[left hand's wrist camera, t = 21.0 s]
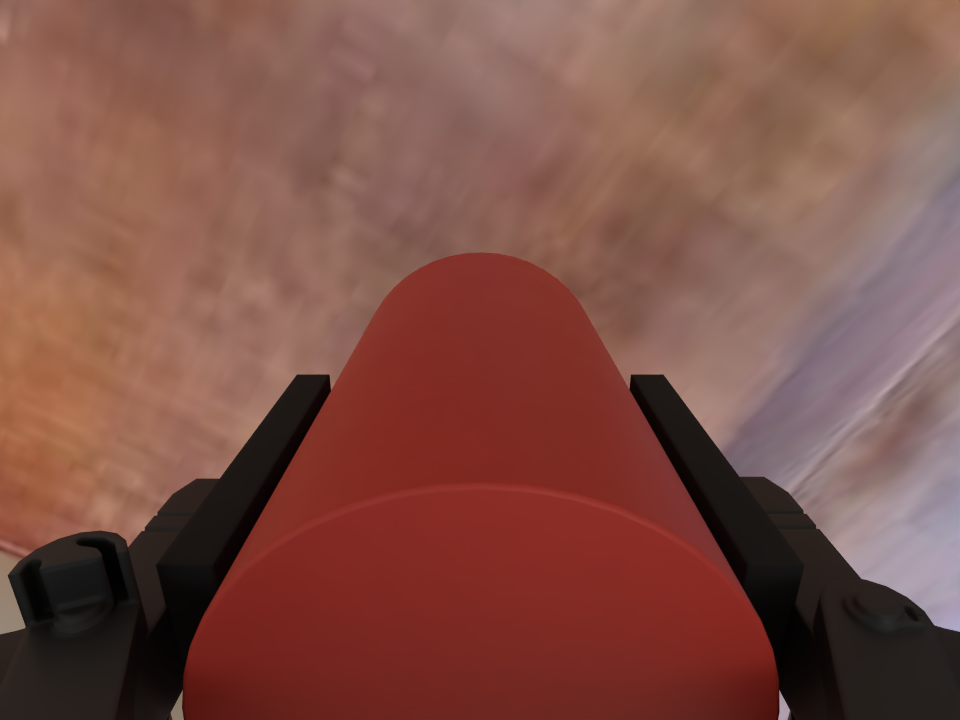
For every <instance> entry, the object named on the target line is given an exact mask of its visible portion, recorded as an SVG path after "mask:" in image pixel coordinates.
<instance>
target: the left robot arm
mask: <svg viewBox="0 0 960 720" xmlns="http://www.w3.org/2000/svg"><path fill="white" fill-rule="evenodd" d="M330 392H331V386H330V376H329V375H296V377H295V378H294V379H293V381H292V382H291V383H290V385H289V386H288V388H287V389H286V390H285V392H284V393H283V394H282V396H281V397H280V398H279V400H278V401H277V402H276V404H275V405H274V406H273V408H272V409H271V410H270V412H269V413H268V414H267V416H266V417H265V418H264V420H263V421H262V423H261V424H260V425H259V427H258V428H257V429H256V431H255V432H254V433H253V435H252V436H251V437H250V439H249V440H248V441H247V443H246V444H245V445H244V447H243V448H242V449H241V451H240V452H239V453H238V455H237V456H236V458H235V459H234V460H233V462H232V463H231V464H230V466H229V467H228V468H227V470H226V471H225V472H224V474H223V475H222V476H221V478H220V479H196V480H194V481H192V482H191V483H189V484H188V485H186V486H185V487H183V488H182V489H180V490H179V491H177V492H175V493H174V494H173V495H172V496H171V497H170V498H169V499H168V501H167V502H166V503H165V504H164V505H163V506H162V508H161V509H160V510H159V511H158V515H157V516H154V517H153V518H152V520H151V521H150V522H149V523H148V524H147V526H146V527H145V531H141V533H140V534H139V535H138V536H137V537H136V539H135V540H134V541H133V542H132V543H131V545H130V546H129V547H127V543H126V540H125V539H124V538H122V537H121V536H120V535H118V534H117V533H112V532H106V531H92V532H82V533H78V534H74V535H71V536H67V537H63V538H60V539H57V540H55V541H53V542H51V543H49V544H47V545H44V546H42V547H40V548H38V549H36V550H35V551H33V552H32V553H31V554H29V555H28V556H26V557H25V558H23V559H22V560H21V561H19V562H18V564H17V565H16V566H15V567H14V568H13V570H12V571H11V572H10V573H9V575H8V578H9V580H10V583H11V586H12V589H13V592H14V595H15V597H16V600H17V603H18V606H19V609H20V611H21V614H22V617H23V620H24V623H25V626H26V627H25V629H21V630H18V631H14V632H9V633H5V634H1V635H0V720H172V717H171V711H172V709H173V707H174V705H175V703H176V701H177V699H178V698H179V696H180V694H181V692H182V690H183V675H184V670H185V666H186V662H187V657H188V653H189V648H190V645H191V643H192V640H193V638H194V636H195V633H196V631H197V629H198V626H199V624H200V622H201V619H202V617H203V615H204V614H205V612H206V610H207V608H208V606H209V605H210V603H211V601H212V599H213V598H214V596H215V594H216V592H217V591H218V589H219V587H220V585H221V584H222V582H223V580H224V578H225V577H226V575H227V573H228V571H229V570H230V568H231V566H232V564H233V563H234V561H235V559H236V557H237V555H238V554H239V552H240V550H241V548H242V547H243V545H244V543H245V541H246V540H247V538H248V536H249V534H250V533H251V531H252V529H253V527H254V526H255V524H256V522H257V520H258V519H259V517H260V515H261V513H262V512H263V510H264V508H265V506H266V504H267V503H268V501H269V499H270V497H271V496H272V494H273V492H274V490H275V489H276V487H277V485H278V483H279V482H280V480H281V478H282V476H283V475H284V473H285V471H286V469H287V468H288V466H289V464H290V462H291V461H292V459H293V457H294V455H295V453H296V452H297V450H298V448H299V446H300V445H301V443H302V441H303V439H304V438H305V436H306V434H307V432H308V431H309V429H310V427H311V425H312V424H313V422H314V420H315V418H316V417H317V415H318V413H319V411H320V410H321V408H322V406H323V404H324V402H325V401H326V399H327V397H328V395H329V394H330ZM630 392H631V393H632V395H633V397H634V399H635V400H636V402H637V404H638V406H639V407H640V409H641V411H642V413H643V414H644V416H645V418H646V420H647V421H648V423H649V425H650V427H651V428H652V430H653V432H654V434H655V435H656V437H657V439H658V441H659V442H660V444H661V446H662V448H663V449H664V451H665V453H666V455H667V456H668V458H669V460H670V462H671V463H672V465H673V467H674V469H675V470H676V472H677V474H678V476H679V477H680V479H681V481H682V483H683V484H684V486H685V488H686V490H687V491H688V493H689V495H690V497H691V498H692V500H693V502H694V504H695V505H696V507H697V509H698V511H699V513H700V514H701V516H702V518H703V520H704V521H705V523H706V525H707V527H708V528H709V530H710V532H711V534H712V535H713V537H714V539H715V541H716V542H717V544H718V546H719V548H720V549H721V551H722V553H723V555H724V556H725V558H726V560H727V562H728V563H729V565H730V567H731V569H732V570H733V572H734V574H735V576H736V577H737V579H738V581H739V583H740V584H741V586H742V588H743V590H744V591H745V593H746V595H747V597H748V598H749V600H750V602H751V604H752V605H753V607H754V609H755V611H756V612H757V614H758V616H759V618H760V619H761V621H762V624H763V626H764V629H765V631H766V634H767V636H768V639H769V641H770V644H771V646H772V648H773V652H774V657H775V662H776V667H777V672H778V677H779V690H780V692H781V694H782V696H783V697H784V699H785V701H786V703H787V705H788V707H789V709H790V713H789V717H788V720H960V632H958V631H953V630H949V629H944V628H941V627H938V626H934V624H933V623H932V622H931V620H930V619H929V617H928V616H927V614H926V613H925V612H924V611H923V610H922V609H921V608H920V607H919V606H917V605H916V604H915V603H914V602H912V601H911V600H910V599H909V598H907V597H906V596H904V595H902V594H900V593H898V592H896V591H894V590H892V589H891V588H889V587H887V586H884V585H880V584H877V583H874V582H871V581H868V580H863V579H861V578H860V577H859V576H858V574H857V573H856V572H855V571H854V570H853V569H852V567H851V566H850V565H849V564H848V563H847V561H846V560H845V559H844V558H843V557H842V556H841V554H840V553H839V552H838V551H837V550H836V548H835V547H834V546H833V545H832V544H831V543H830V541H829V540H828V539H827V538H826V537H825V535H824V534H823V533H822V532H821V531H820V530H819V529H816V525H815V524H814V522H813V521H812V520H811V519H810V518H809V516H808V515H807V514H804V513H803V509H802V508H801V507H800V506H799V505H798V503H797V502H796V501H795V500H794V499H793V498H792V496H791V495H790V494H789V493H788V492H787V491H785V490H784V489H782V488H781V487H779V486H777V485H776V484H774V483H773V482H771V481H770V480H768V479H767V478H765V477H739V476H738V474H737V473H736V472H735V470H734V469H733V468H732V466H731V465H730V464H729V462H728V461H727V460H726V458H725V457H724V456H723V454H722V453H721V452H720V450H719V449H718V448H717V446H716V445H715V444H714V442H713V441H712V439H711V438H710V437H709V435H708V434H707V433H706V431H705V430H704V429H703V427H702V426H701V425H700V423H699V422H698V421H697V419H696V418H695V417H694V415H693V414H692V413H691V411H690V410H689V409H688V407H687V406H686V404H685V403H684V402H683V400H682V399H681V398H680V396H679V395H678V394H677V392H676V391H675V390H674V388H673V387H672V386H671V384H670V383H669V382H668V380H667V379H666V378H665V376H664V375H631V380H630Z"/></svg>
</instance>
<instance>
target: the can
mask: <svg viewBox="0 0 960 720" xmlns="http://www.w3.org/2000/svg"><path fill="white" fill-rule="evenodd" d="M182 710H183V716H184V720H778V717H779V677H778V672H777V667H776V662H775V657H774V652H773V648H772V646H771V644H770V641H769V639H768V636H767V634H766V631H765V629H764V626H763V624H762V621H761V619H760V618H759V616H758V614H757V612H756V611H755V609H754V607H753V605H752V604H751V602H750V600H749V598H748V597H747V595H746V593H745V591H744V590H743V588H742V586H741V584H740V583H739V581H738V579H737V577H736V576H735V574H734V572H733V570H732V569H731V567H730V565H729V563H728V562H727V560H726V558H725V556H724V555H723V553H722V551H721V549H720V548H719V546H718V544H717V542H716V541H715V539H714V537H713V535H712V534H711V532H710V530H709V528H708V527H707V525H706V523H705V521H704V520H703V518H702V516H701V514H700V513H699V511H698V509H697V507H696V505H695V504H694V502H693V500H692V498H691V497H690V495H689V493H688V491H687V490H686V488H685V486H684V484H683V483H682V481H681V479H680V477H679V476H678V474H677V472H676V470H675V469H674V467H673V465H672V463H671V462H670V460H669V458H668V456H667V455H666V453H665V451H664V449H663V448H662V446H661V444H660V442H659V441H658V439H657V437H656V435H655V434H654V432H653V430H652V428H651V427H650V425H649V423H648V421H647V420H646V418H645V416H644V414H643V413H642V411H641V409H640V407H639V406H638V404H637V402H636V400H635V399H634V397H633V395H632V393H631V392H630V390H629V388H628V386H627V385H626V383H625V381H624V379H623V378H622V376H621V374H620V372H619V371H618V369H617V367H616V365H615V364H614V362H613V360H612V358H611V357H610V355H609V353H608V351H607V350H606V348H605V346H604V344H603V343H602V341H601V339H600V337H599V336H598V334H597V332H596V330H595V329H594V327H593V325H592V323H591V322H590V320H589V318H588V316H587V315H586V313H585V311H584V310H583V308H582V306H581V305H580V303H579V302H578V300H577V299H576V298H575V297H574V295H573V294H572V293H571V292H570V291H569V289H568V288H566V287H565V286H564V285H563V284H562V283H561V282H560V281H559V280H558V279H556V278H555V277H554V276H552V275H551V274H549V273H548V272H546V271H545V270H543V269H541V268H539V267H537V266H535V265H533V264H531V263H529V262H526V261H524V260H521V259H518V258H515V257H511V256H506V255H501V254H493V253H467V254H460V255H455V256H450V257H446V258H443V259H440V260H437V261H434V262H432V263H430V264H428V265H426V266H424V267H422V268H420V269H418V270H416V271H415V272H413V273H412V274H410V275H409V276H407V277H406V278H405V279H404V280H402V281H401V282H400V283H399V284H398V285H397V286H396V287H395V288H394V289H393V290H392V291H391V292H390V293H389V294H388V295H387V297H386V298H385V299H384V300H383V302H382V303H381V305H380V307H379V308H378V310H377V311H376V313H375V315H374V316H373V318H372V320H371V322H370V323H369V325H368V327H367V329H366V330H365V332H364V334H363V336H362V337H361V339H360V341H359V343H358V344H357V346H356V348H355V350H354V351H353V353H352V355H351V357H350V359H349V360H348V362H347V364H346V366H345V367H344V369H343V371H342V373H341V374H340V376H339V378H338V380H337V381H336V383H335V385H334V387H333V388H332V390H331V392H330V394H329V395H328V397H327V399H326V401H325V402H324V404H323V406H322V408H321V410H320V411H319V413H318V415H317V417H316V418H315V420H314V422H313V424H312V425H311V427H310V429H309V431H308V432H307V434H306V436H305V438H304V439H303V441H302V443H301V445H300V446H299V448H298V450H297V452H296V453H295V455H294V457H293V459H292V461H291V462H290V464H289V466H288V468H287V469H286V471H285V473H284V475H283V476H282V478H281V480H280V482H279V483H278V485H277V487H276V489H275V490H274V492H273V494H272V496H271V497H270V499H269V501H268V503H267V504H266V506H265V508H264V510H263V512H262V513H261V515H260V517H259V519H258V520H257V522H256V524H255V526H254V527H253V529H252V531H251V533H250V534H249V536H248V538H247V540H246V541H245V543H244V545H243V547H242V548H241V550H240V552H239V554H238V555H237V557H236V559H235V561H234V563H233V564H232V566H231V568H230V570H229V571H228V573H227V575H226V577H225V578H224V580H223V582H222V584H221V585H220V587H219V589H218V591H217V592H216V594H215V596H214V598H213V599H212V601H211V603H210V605H209V606H208V608H207V610H206V612H205V614H204V615H203V617H202V619H201V622H200V624H199V626H198V629H197V631H196V633H195V636H194V638H193V640H192V643H191V645H190V648H189V653H188V657H187V662H186V666H185V670H184V675H183V700H182Z"/></svg>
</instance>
